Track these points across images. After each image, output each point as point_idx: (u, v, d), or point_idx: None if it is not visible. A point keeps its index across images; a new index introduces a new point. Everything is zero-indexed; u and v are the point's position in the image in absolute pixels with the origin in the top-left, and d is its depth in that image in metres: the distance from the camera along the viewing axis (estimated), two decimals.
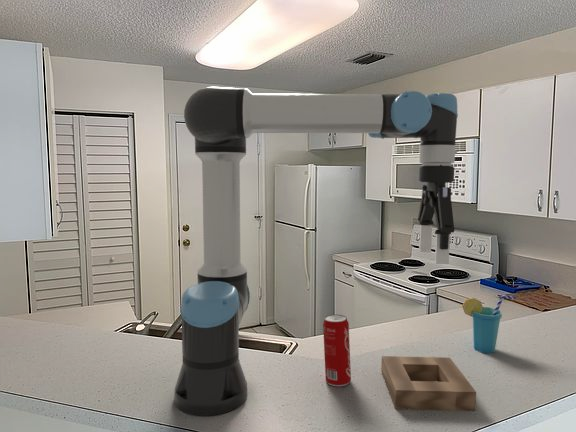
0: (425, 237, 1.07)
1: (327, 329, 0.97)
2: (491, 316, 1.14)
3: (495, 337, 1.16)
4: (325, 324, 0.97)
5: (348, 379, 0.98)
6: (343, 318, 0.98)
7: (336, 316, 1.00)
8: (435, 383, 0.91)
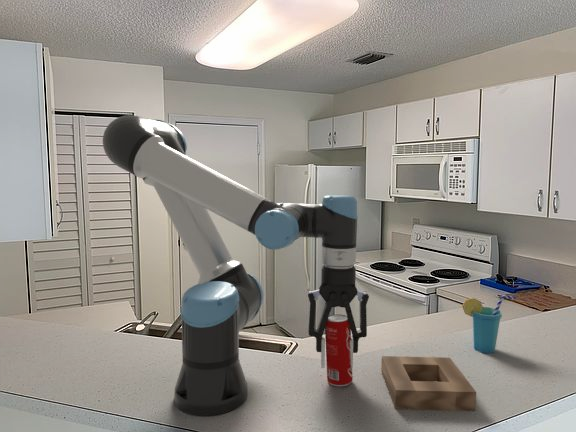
0: None
1: (329, 329, 0.97)
2: (491, 316, 1.14)
3: (495, 337, 1.16)
4: (327, 324, 0.97)
5: (350, 379, 0.98)
6: (345, 318, 0.98)
7: (337, 316, 1.00)
8: (435, 383, 0.91)
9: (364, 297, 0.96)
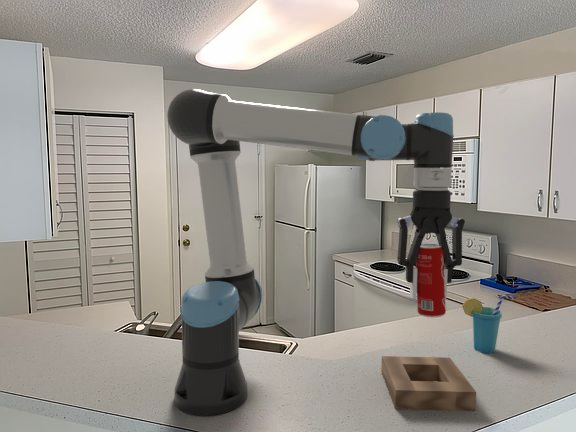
0: None
1: (422, 256, 0.91)
2: (491, 316, 1.14)
3: (495, 337, 1.16)
4: (419, 252, 0.92)
5: (444, 310, 0.92)
6: (438, 246, 0.93)
7: (428, 245, 0.94)
8: (435, 383, 0.91)
9: (460, 222, 0.91)
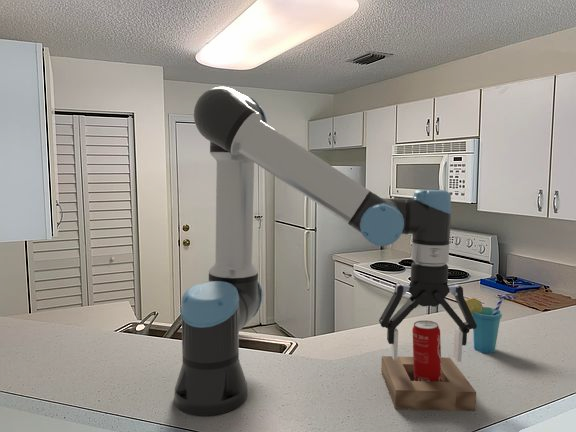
0: (456, 342, 0.95)
1: (419, 336, 0.93)
2: (491, 316, 1.14)
3: (495, 337, 1.16)
4: (416, 331, 0.94)
5: None
6: (434, 324, 0.95)
7: (425, 323, 0.96)
8: (435, 383, 0.91)
9: (458, 290, 0.92)
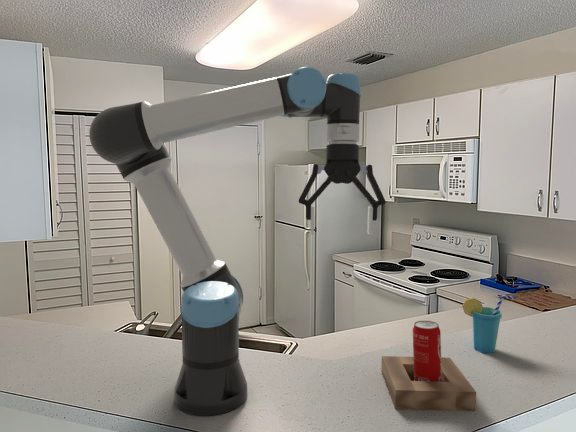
0: (368, 219, 1.04)
1: (419, 336, 0.93)
2: (491, 316, 1.14)
3: (495, 337, 1.16)
4: (416, 331, 0.94)
5: None
6: (434, 324, 0.95)
7: (425, 323, 0.96)
8: (435, 383, 0.91)
9: (368, 168, 1.01)
